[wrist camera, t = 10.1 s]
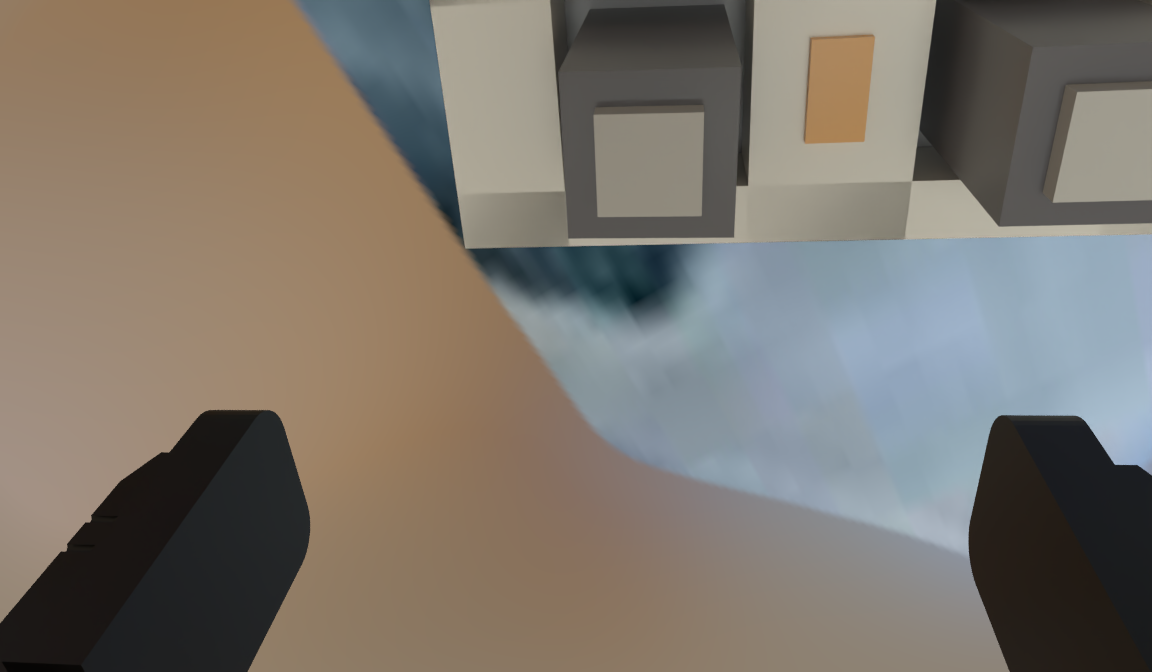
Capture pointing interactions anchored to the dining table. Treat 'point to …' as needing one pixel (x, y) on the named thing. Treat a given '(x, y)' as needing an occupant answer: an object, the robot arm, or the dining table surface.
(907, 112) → the strip
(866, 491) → the dining table surface
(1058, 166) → the twin plug
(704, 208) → the plug
